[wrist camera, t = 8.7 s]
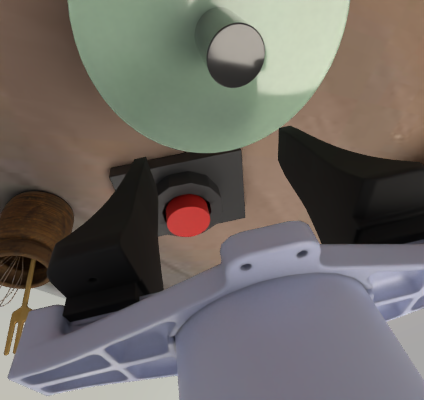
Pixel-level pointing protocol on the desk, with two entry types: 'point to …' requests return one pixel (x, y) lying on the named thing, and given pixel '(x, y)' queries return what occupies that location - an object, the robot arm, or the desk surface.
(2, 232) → the utensil holder
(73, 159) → the desk surface
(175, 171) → the button box
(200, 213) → the button
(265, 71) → the lid
